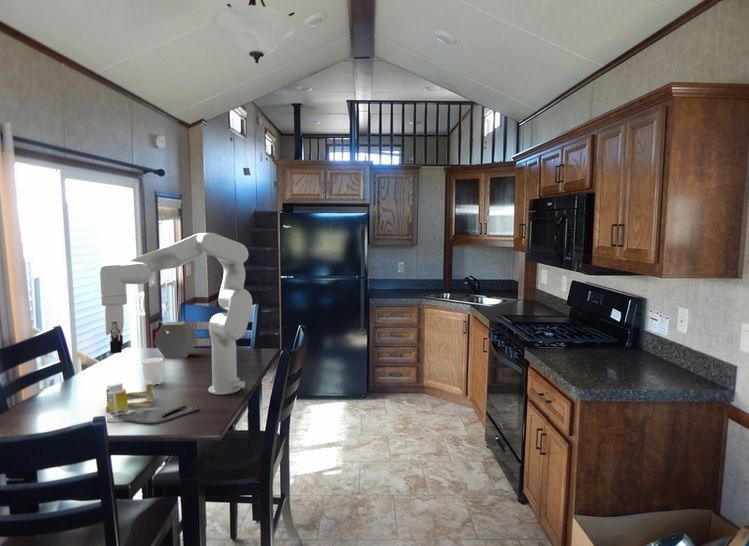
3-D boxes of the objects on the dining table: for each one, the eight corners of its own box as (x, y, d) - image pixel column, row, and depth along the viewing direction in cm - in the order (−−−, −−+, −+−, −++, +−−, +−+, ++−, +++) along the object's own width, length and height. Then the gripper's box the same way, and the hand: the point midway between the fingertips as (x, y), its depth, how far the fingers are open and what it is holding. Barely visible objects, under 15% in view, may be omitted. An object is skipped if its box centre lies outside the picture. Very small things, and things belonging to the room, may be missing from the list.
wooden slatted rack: (152, 394, 182) (152, 377, 182) (153, 405, 171) (152, 387, 170) (109, 400, 176) (108, 382, 175) (106, 412, 164) (105, 393, 164)
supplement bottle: (131, 410, 163) (127, 381, 163) (124, 414, 158) (120, 385, 158) (115, 412, 163) (111, 384, 163) (107, 417, 157) (103, 387, 157)
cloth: (109, 425, 151) (109, 419, 151) (124, 409, 165) (124, 403, 164) (192, 422, 156) (192, 416, 156) (200, 407, 169) (200, 401, 169)
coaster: (142, 412, 164) (142, 411, 164) (120, 423, 154) (120, 422, 154) (118, 410, 166) (118, 408, 166) (95, 420, 157) (95, 419, 156)
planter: (203, 344, 245) (180, 313, 242) (199, 348, 237) (175, 315, 234) (176, 362, 244) (152, 331, 241) (171, 367, 236) (147, 334, 233)
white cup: (155, 386, 192) (154, 363, 191) (139, 385, 193) (138, 362, 193) (167, 380, 199) (167, 358, 199) (151, 379, 201) (151, 357, 200)
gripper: (103, 297, 163) (106, 345, 164) (99, 304, 147) (102, 357, 149) (127, 296, 166) (130, 342, 168) (125, 302, 151) (128, 354, 152)
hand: (117, 349), depth 158 cm, fingers open, 9 cm apart
